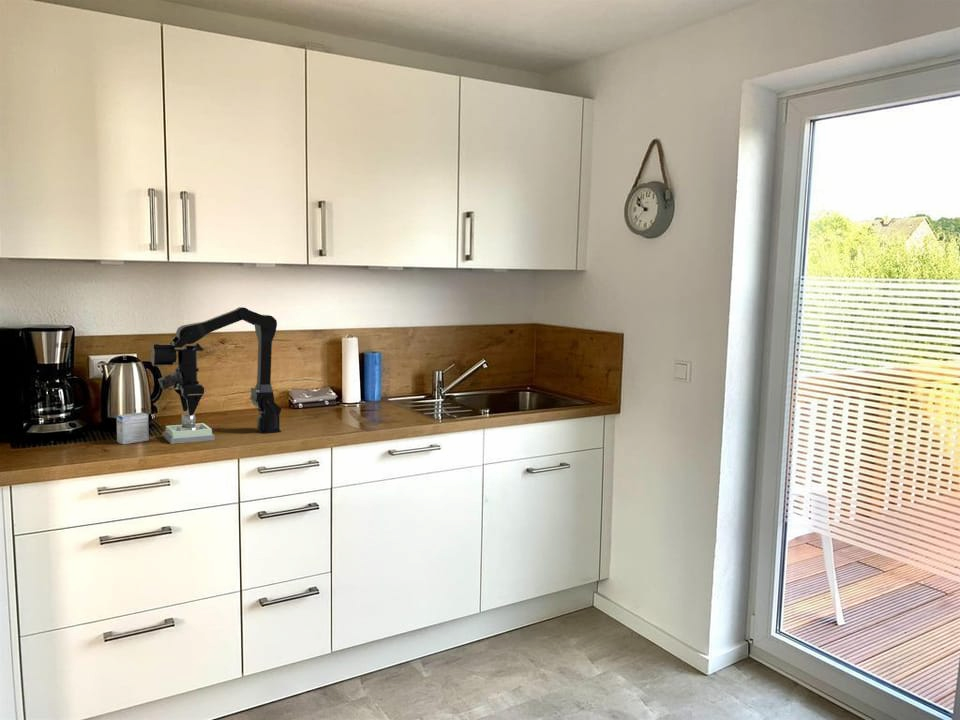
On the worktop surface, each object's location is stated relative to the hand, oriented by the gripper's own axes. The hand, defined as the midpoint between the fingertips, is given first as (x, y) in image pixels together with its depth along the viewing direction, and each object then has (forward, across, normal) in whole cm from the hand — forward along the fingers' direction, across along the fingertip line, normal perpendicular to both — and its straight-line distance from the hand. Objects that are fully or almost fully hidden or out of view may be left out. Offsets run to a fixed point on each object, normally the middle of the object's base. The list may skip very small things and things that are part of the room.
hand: (188, 413), depth 226 cm
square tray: (+8, 0, 0) cm, 8 cm away
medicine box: (+8, -2, -16) cm, 18 cm away
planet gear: (+6, 0, 0) cm, 6 cm away
